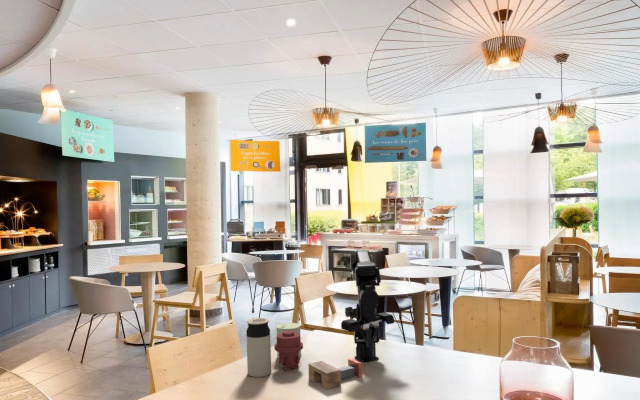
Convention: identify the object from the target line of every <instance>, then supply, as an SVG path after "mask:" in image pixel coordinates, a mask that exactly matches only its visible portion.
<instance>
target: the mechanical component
mask: <svg viewBox="0 0 640 400" xmlns="http://www.w3.org/2000/svg"><path fill="white" fill-rule="evenodd" d="M275 336H276V343H275V344H274V347H273V348H274V351H276V353H277V352H279V359H278V363H279V364H278V365H280V366H282V367H283V368H284V370H285V371H287V372H288V371H290V370H293V369H294V368H298V367H299V364H300V358H299V351H300V350H301V351H302V350H303V349H304V343H303V342H302V341H300V338H301V333H300V334H298V333H295V332H293V331H285V332H283V333H281V334H278V335H277V334H276V335H275Z"/></svg>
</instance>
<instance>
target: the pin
mask: <svg viewBox="0 0 640 400" xmlns="http://www.w3.org/2000/svg"><path fill="white" fill-rule="evenodd" d="M362 366H363V364H362V361H361V362H360V361H359V360H357V359H355V358H354V359H353V358H347V365H344V366H341V367H336V368H337V369H340V376H341V381H343V380H348V379H351V378H355V377H357V378H362V377H363V367H362Z"/></svg>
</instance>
